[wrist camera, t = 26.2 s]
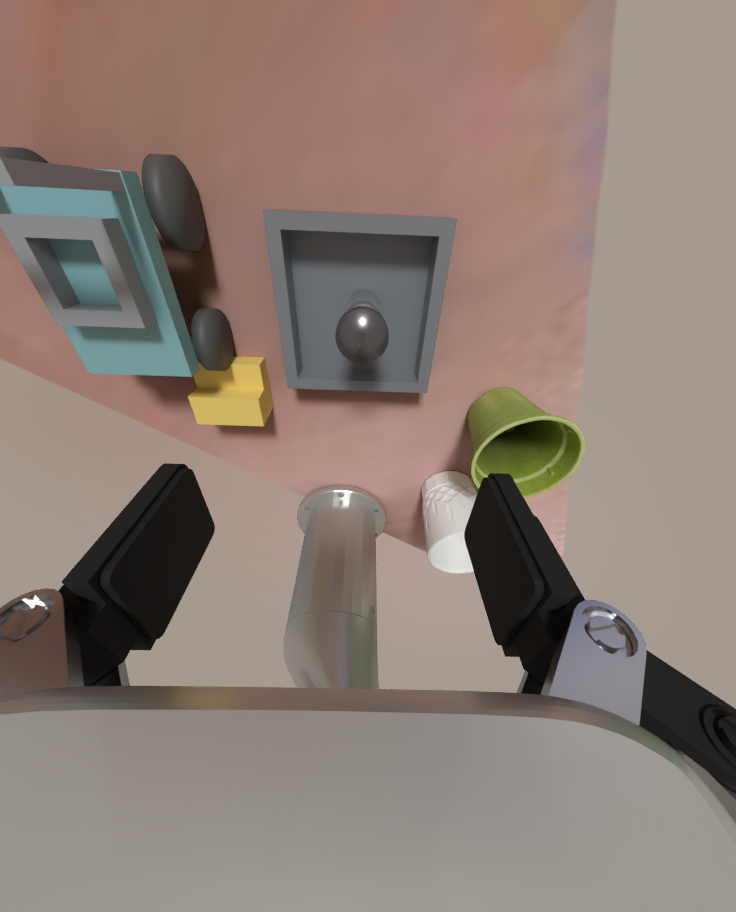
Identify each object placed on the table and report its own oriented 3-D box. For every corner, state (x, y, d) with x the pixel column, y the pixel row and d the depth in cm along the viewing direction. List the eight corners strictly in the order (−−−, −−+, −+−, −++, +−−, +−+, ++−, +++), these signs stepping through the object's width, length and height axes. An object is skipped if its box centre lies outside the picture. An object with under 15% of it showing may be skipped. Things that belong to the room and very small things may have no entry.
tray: (422, 379, 31) (426, 393, 29) (294, 374, 31) (287, 388, 29) (448, 217, 23) (456, 218, 21) (273, 209, 23) (263, 210, 21)
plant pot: (455, 375, 31) (478, 422, 24) (551, 367, 30) (603, 413, 24) (448, 448, 37) (466, 502, 30) (529, 442, 36) (565, 496, 30)
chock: (273, 405, 34) (263, 426, 31) (213, 403, 34) (197, 424, 30) (265, 356, 30) (252, 374, 27) (198, 354, 30) (178, 371, 27)
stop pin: (383, 331, 28) (386, 364, 22) (343, 329, 28) (336, 362, 22) (386, 286, 25) (391, 310, 20) (342, 284, 25) (334, 308, 20)
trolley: (237, 358, 30) (166, 439, 20) (129, 354, 30) (-1, 434, 19) (190, 159, 21) (14, 114, 11) (37, 152, 21) (-295, 98, 11)
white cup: (430, 460, 38) (445, 526, 30) (487, 473, 39) (516, 539, 32) (408, 502, 43) (417, 568, 35) (460, 512, 44) (479, 577, 36)
